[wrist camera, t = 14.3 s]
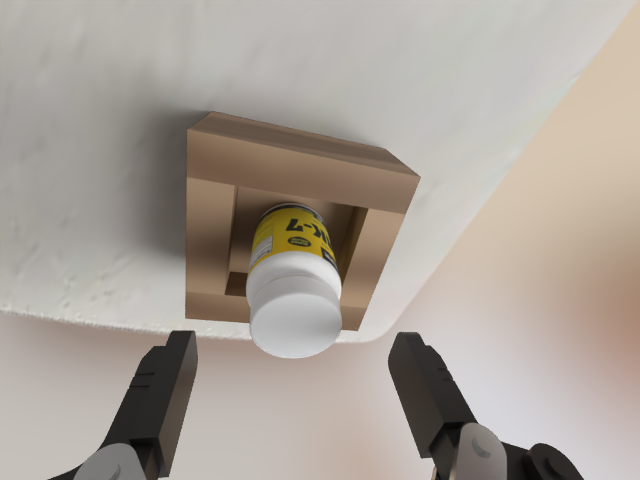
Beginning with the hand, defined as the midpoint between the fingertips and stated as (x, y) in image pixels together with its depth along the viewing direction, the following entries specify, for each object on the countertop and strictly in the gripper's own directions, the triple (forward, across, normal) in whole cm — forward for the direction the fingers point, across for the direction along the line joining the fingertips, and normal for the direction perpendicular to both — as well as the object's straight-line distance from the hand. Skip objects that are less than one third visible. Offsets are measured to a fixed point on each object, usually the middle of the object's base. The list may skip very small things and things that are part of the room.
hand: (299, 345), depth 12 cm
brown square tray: (+13, 0, 0) cm, 13 cm away
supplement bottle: (+10, 0, 0) cm, 10 cm away
